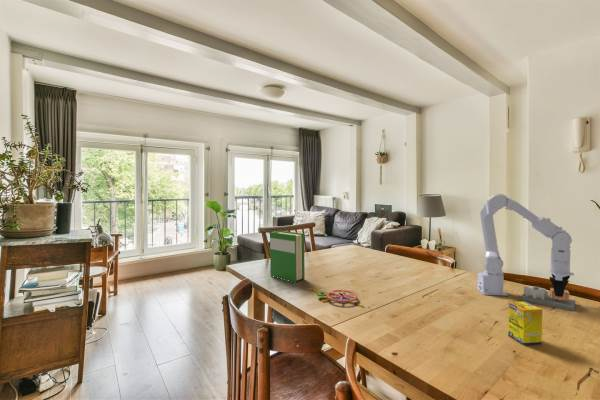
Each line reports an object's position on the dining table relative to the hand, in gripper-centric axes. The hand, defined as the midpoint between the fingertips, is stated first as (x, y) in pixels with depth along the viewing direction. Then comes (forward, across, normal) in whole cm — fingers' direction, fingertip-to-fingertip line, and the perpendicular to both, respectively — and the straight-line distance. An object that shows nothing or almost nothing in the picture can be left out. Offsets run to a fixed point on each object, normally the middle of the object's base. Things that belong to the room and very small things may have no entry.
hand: (559, 294), depth 117 cm
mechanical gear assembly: (+5, -56, +70) cm, 90 cm away
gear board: (+4, 0, +3) cm, 5 cm away
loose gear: (+1, 0, 0) cm, 1 cm away
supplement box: (+4, -44, +6) cm, 44 cm away
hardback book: (+4, -52, +105) cm, 117 cm away
